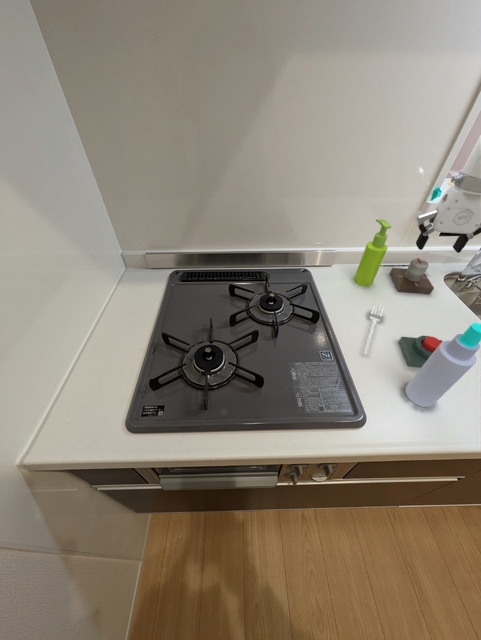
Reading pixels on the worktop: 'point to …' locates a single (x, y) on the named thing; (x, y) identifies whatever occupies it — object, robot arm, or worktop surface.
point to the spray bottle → (444, 367)
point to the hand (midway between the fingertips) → (437, 248)
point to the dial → (416, 270)
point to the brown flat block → (410, 282)
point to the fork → (372, 326)
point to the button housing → (414, 351)
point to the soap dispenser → (372, 256)
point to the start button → (431, 343)
